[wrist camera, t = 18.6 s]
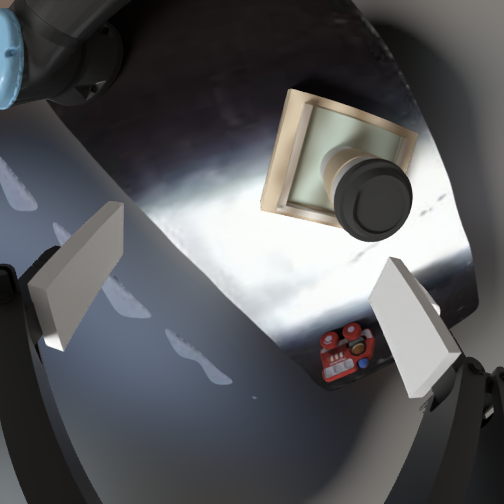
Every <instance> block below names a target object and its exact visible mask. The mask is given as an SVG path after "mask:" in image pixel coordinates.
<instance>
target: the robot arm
mask: <svg viewBox="0 0 504 504" xmlns="http://www.w3.org/2000/svg"><path fill="white" fill-rule="evenodd" d="M130 1H131V0H15V1H14V2H13V3H12V4H11V6H10V7H9V8H0V109H7V108H9V107H12V106H17V105H21V104H25V103H30V102H34V101H39V100H44V99H49V100H52V101H54V102H56V103H59V104H61V105H66V106H75V105H82V104H86V103H89V102H91V101H93V100H95V99H97V98H98V97H100V96H101V95H102V94H104V93H105V92H106V91H107V90H108V89H109V87H110V86H111V85H112V83H113V82H114V80H115V79H116V77H117V75H118V73H119V71H120V68H121V65H122V61H123V52H124V50H123V42H122V38H121V36H120V33H119V32H118V30H117V29H116V28H115V27H114V26H113V25H112V24H110V23H109V22H107V21H108V20H109V19H110V18H111V17H112V16H113V15H115V14H116V13H117V12H118V11H119V10H120V9H122V8H123V7H124V6H125V5H126V4H128V3H129V2H130ZM123 211H124V203H119V202H114V201H109V202H108V203H107V204H105V205H104V206H103V207H102V208H101V209H100V210H99V211H98V212H97V213H96V214H94V215H93V216H92V217H91V218H90V219H89V220H88V221H87V222H86V223H85V224H84V225H83V226H82V227H81V228H80V229H79V230H78V231H77V232H76V233H75V234H73V235H72V236H71V237H70V238H69V239H68V240H67V241H66V243H65V244H64V245H63V246H62V247H60V246H54V247H52V248H50V249H48V250H46V251H45V252H44V253H43V254H42V255H41V256H40V257H39V258H38V260H36V261H35V262H34V263H33V265H32V266H30V267H29V268H28V269H27V271H26V272H25V273H24V274H23V275H22V276H21V277H20V278H19V279H17V275H16V272H15V269H14V267H13V266H11V265H8V264H0V421H1V425H2V430H3V433H4V437H5V441H6V445H7V448H8V451H9V455H10V458H11V461H12V464H13V467H14V470H15V473H16V476H17V478H18V481H19V484H20V486H21V489H22V491H23V494H24V496H25V498H26V501H27V503H28V504H103V503H102V502H101V500H100V498H99V497H98V495H97V493H96V491H95V489H94V488H93V486H92V484H91V482H90V480H89V478H88V476H87V474H86V473H85V471H84V469H83V466H82V464H81V462H80V460H79V458H78V456H77V454H76V452H75V450H74V448H73V445H72V443H71V440H70V438H69V436H68V434H67V431H66V428H65V426H64V423H63V421H62V418H61V416H60V413H59V410H58V407H57V404H56V402H55V399H54V396H53V393H52V390H51V386H50V383H49V380H48V376H47V373H46V369H45V366H44V362H43V358H42V354H41V350H40V347H39V344H38V341H39V339H40V337H41V336H42V334H43V337H44V340H45V342H46V345H48V346H50V347H53V348H55V349H58V350H61V351H64V350H65V348H66V346H67V344H68V342H69V341H70V338H71V337H72V335H73V333H74V332H75V330H76V328H77V326H78V325H79V323H80V321H81V320H82V318H83V316H84V314H85V313H86V311H87V309H88V308H89V306H90V304H91V303H92V301H93V300H94V298H95V296H96V294H97V293H98V292H99V290H100V288H101V287H102V285H103V284H104V282H105V281H106V279H107V277H108V276H109V274H110V273H111V271H112V270H113V268H114V267H115V265H116V264H117V262H118V261H119V259H120V257H121V256H122V255H123V214H124V212H123ZM368 300H369V302H370V304H371V306H372V308H373V311H374V313H375V315H376V317H377V319H378V322H379V324H380V326H381V328H382V331H383V333H384V335H385V338H386V340H387V342H388V345H389V347H390V350H391V352H392V354H393V357H394V359H395V362H396V364H397V367H398V369H399V372H400V374H401V377H402V379H403V382H404V384H405V387H406V390H407V392H408V395H409V398H417V397H423V396H424V395H425V394H426V393H427V392H428V391H429V390H430V389H431V388H432V390H433V393H434V394H433V395H432V396H431V397H430V398H429V399H428V400H427V401H426V402H425V403H424V404H423V405H422V406H421V407H420V409H419V411H421V410H422V409H423V408H425V407H426V409H425V411H424V412H423V413H424V415H423V418H422V421H421V424H420V426H419V429H418V432H417V434H416V437H415V439H414V442H413V444H412V447H411V449H410V451H409V454H408V456H407V458H406V460H405V463H404V465H403V467H402V469H401V471H400V473H399V476H398V477H397V480H396V482H395V484H394V486H393V487H392V490H391V491H390V493H389V495H388V497H387V499H386V501H385V502H384V504H504V368H503V367H500V366H499V367H497V368H496V369H495V370H494V371H493V373H492V374H490V373H486V372H485V370H484V368H483V366H482V365H481V363H480V362H479V361H478V360H476V359H475V358H473V357H466V356H465V355H464V353H463V351H462V350H461V348H460V346H459V344H458V343H457V341H456V339H455V338H454V337H453V334H452V333H451V331H450V330H449V328H448V326H447V324H446V323H445V321H444V320H443V319H442V318H441V317H440V316H439V315H438V313H437V311H436V310H435V308H434V307H433V305H432V304H431V302H430V301H429V299H428V298H427V296H426V295H425V293H424V292H423V290H422V289H421V287H420V286H419V284H418V283H417V282H416V280H415V279H414V277H413V276H412V274H411V273H410V272H409V270H408V269H407V267H406V266H405V265H404V263H403V262H402V261H401V259H397V258H393V257H389V258H388V260H387V262H386V264H385V266H384V268H383V270H382V272H381V274H380V276H379V278H378V280H377V282H376V284H375V286H374V288H373V290H372V292H371V294H370V296H369V298H368ZM492 407H493V408H494V413H492V414H491V415H490V416H489V417H488V418H487V419H486V418H485V414H486V413H487V412H488V411H489V410H490V409H491V408H492Z"/></svg>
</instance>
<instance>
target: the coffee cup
mask: <svg viewBox="0 0 504 504" xmlns="http://www.w3.org/2000/svg"><path fill="white" fill-rule="evenodd" d="M320 176H321V179H322V181H323V183H324V187H325V190H326V192H327V195H328V197H329V199H330V202H331V204H332V207H333V209H334V211H335V215H336V218H337V220H338V222H339V224H340V225H341V226H342V227H343V229H344V230H346V231H347V232H348V233H349V234H350V235H351V236H353V237H354V238H356V239H358V240H361V241H365V242H376V241H381V240H384V239H386V238H388V237H390V236H392V235H393V234H394V233H396V232H397V231H398V230H399V229H400V228H401V227H402V225H403V224H404V223H405V221H406V219H407V218H408V215H409V213H410V210H411V206H412V199H413V194H412V187H411V184H410V181H409V179H408V177H407V176H406V174H405V173H404V171H403V170H402V169H401V168H400V167H399V166H398V165H396V164H395V163H393V162H391V161H389V160H385V159H383V158H380V157H378V156H376V155H373V154H370V153H368V152H365V151H362V150H360V149H355V148H351V147H348V146H338V147H334V148H332V149H331V150H329V151H328V152H327V153H326V154H325V155H324V157H323V159H322V161H321V164H320Z"/></svg>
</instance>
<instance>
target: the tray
mask: <svg viewBox="0 0 504 504" xmlns="http://www.w3.org/2000/svg"><path fill="white" fill-rule="evenodd" d="M417 137H418V134H417V133H415V132H413V131H411V130H409V129H406V128H404V127H402V126H399V125H397V124H395V123H392V122H390V121H387V120H385V119H382V118H380V117H377V116H375V115H372V114H370V113H367V112H364V111H362V110H359V109H356V108H353V107H350V106H347V105H344V104H341V103H338V102H335V101H332V100H329V99H326V98H323V97H319V96H316V95H312V94H309V93H305V92H302V91H298V90H294V89H288V92H287V96H286V100H285V104H284V108H283V112H282V116H281V120H280V124H279V128H278V132H277V136H276V140H275V144H274V148H273V152H272V156H271V160H270V164H269V168H268V172H267V176H266V180H265V184H264V188H263V192H262V196H261V200H260V203H261V210H262V211H267V212H271V213H276V214H281V215H285V216H290V217H294V218H299V219H303V220H308V221H312V222H317V223H321V224H325V225H330V226H334V227H338V228H342V229H343V227H342V226H341V225H340V224H339V222H338V220H337V218H336V215H335V211H334V209H333V207H332V204H331V202H330V199H329V197H328V195H327V192H326V190H325V187H324V183H323V181H322V179H321V176H320V164H321V161H322V159H323V157H324V155H325V154H326V153H327V152H328V151H329V150H331V149H332V148H334V147H338V146H348V147H351V148H355V149H360V150H362V151H365V152H368V153H370V154H373V155H376V156H378V157H380V158H383V159H385V160H389V161H391V162H393V163H395V164H396V165H398V166H399V167H400V168H401V169H402V170H403V171H404V173H405V174H406V171H407V168H408V165H409V162H410V159H411V156H412V153H413V150H414V147H415V144H416V141H417Z"/></svg>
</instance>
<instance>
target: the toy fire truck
mask: <svg viewBox="0 0 504 504" xmlns="http://www.w3.org/2000/svg"><path fill="white" fill-rule="evenodd" d="M343 336H344V337H345V338H344V339H342V340H339V336H338V334H337V333H336V332H327V333H325V334H324V335H323V336H322V337H321V340H320V343H321V345H322V347H323V348H322V349H321V350H320V354H321V359H322V363H323V367H324V369H323V371H322V374H323V378H324V379H325V381H327V382H331V381H333V380H336V379H338V378H341V377H343V376H346V375H348V374H350V373H353V372H355V371H356V370H357V369H358V365H359V366H360V367H361V368H366V367H367V366H368V364H369V362H368V360H369V359H371V358H372V355H373V350H374V345H375V340H374V337H373V334H372V332H371V330H370V329H364V330H361V327H360V325H359V324H357V323H350V324H347V325H346V326H345V327H344V329H343ZM349 348H350V349H349ZM366 348H367V349H366ZM352 353H353V354H354V356H353V355H352Z"/></svg>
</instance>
